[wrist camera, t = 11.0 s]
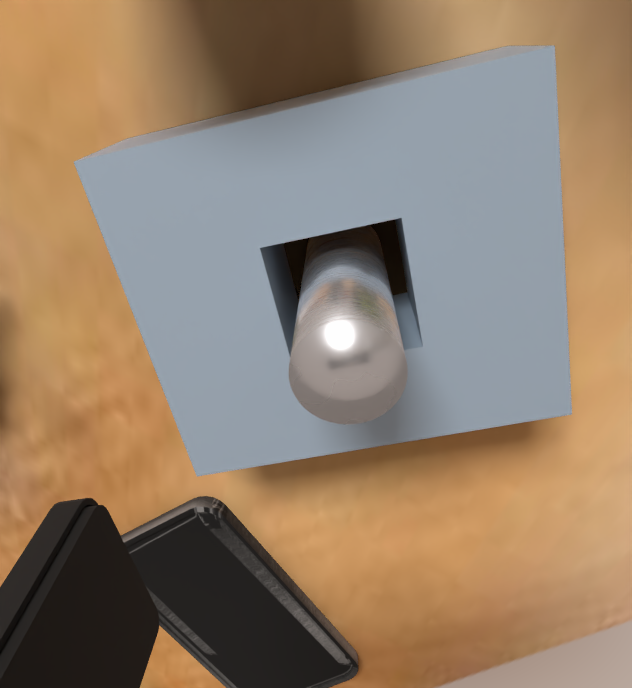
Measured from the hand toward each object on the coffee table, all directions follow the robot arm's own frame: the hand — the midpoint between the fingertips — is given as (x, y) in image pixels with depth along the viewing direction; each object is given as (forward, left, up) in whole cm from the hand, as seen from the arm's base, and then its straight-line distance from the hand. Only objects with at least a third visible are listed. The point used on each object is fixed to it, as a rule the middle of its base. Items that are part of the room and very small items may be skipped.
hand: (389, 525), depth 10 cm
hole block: (+1, 0, -16) cm, 16 cm away
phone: (+11, +19, -16) cm, 27 cm away
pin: (+1, 0, -16) cm, 16 cm away
